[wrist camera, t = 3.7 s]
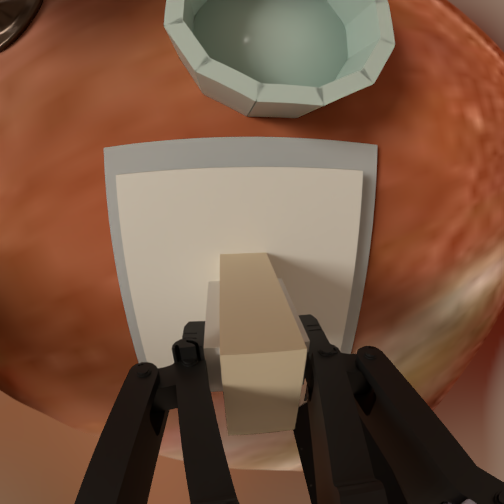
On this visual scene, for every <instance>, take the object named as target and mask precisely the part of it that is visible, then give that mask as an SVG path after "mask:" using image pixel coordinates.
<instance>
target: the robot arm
mask: <svg viewBox="0 0 504 504" xmlns="http://www.w3.org/2000/svg"><path fill="white" fill-rule="evenodd" d="M278 281H279V283H280V286H281V288H282V290H283V293H284V295H285V297H286V300H287V302H288V304H289V307H290V309H291V311H292V314H293V316H294V319H295V321H296V323H297V326H298V328H299V330H300V333H301V335H302V338H303V340H304V342H305V345H306V347H307V354H306V362H305V369H304V376H303V382H302V385H303V384H304V379H305V378H306V381H307V388H306V394H305V399H304V401H307V403H308V411H309V420H310V429H311V439H312V448H313V459H314V469H315V480H316V492H317V504H388V501H387V496H386V492H385V488H384V485H383V483H382V482H381V481H380V480H377V479H376V478H375V476H374V473H373V469H372V464H371V460H370V456H369V452H368V448H367V444H366V440H365V436H364V432H363V429H362V425H361V421H360V418H361V419H362V421H363V422H364V424H365V426H366V427H367V429H368V431H369V432H370V434H371V436H372V437H373V439H374V440H375V442H376V444H377V445H378V447H379V449H380V450H381V452H382V454H383V455H384V457H385V459H386V460H387V462H388V464H389V465H390V467H391V468H392V470H393V472H394V473H395V475H396V477H397V478H398V480H399V482H400V483H401V485H402V487H403V488H404V490H405V492H406V493H407V495H408V497H409V498H410V500H411V502H412V503H413V504H504V482H502V481H501V480H499V479H497V478H495V477H494V476H492V475H490V474H489V473H487V472H485V471H484V470H482V469H480V468H479V467H477V466H476V465H475V463H474V462H473V461H472V459H471V458H470V457H469V456H468V454H467V453H466V452H465V451H464V449H463V448H462V447H461V446H460V444H459V443H458V442H457V440H456V439H455V438H454V437H453V436H452V434H451V433H450V432H449V430H448V429H447V428H446V427H445V425H444V424H443V423H442V422H441V421H440V420H439V418H438V417H437V416H436V414H435V413H434V412H433V411H432V410H431V408H430V407H429V406H428V405H427V404H426V402H425V401H424V400H423V399H422V398H421V396H420V395H419V394H418V393H417V392H416V390H415V389H414V388H413V387H412V386H411V385H410V383H409V382H408V381H407V380H406V379H405V378H404V376H403V375H402V374H401V373H400V372H399V371H398V369H397V368H396V367H395V366H394V365H393V364H392V362H391V361H390V360H389V359H388V358H387V357H386V355H385V354H384V353H383V352H382V351H381V350H380V349H378V348H376V347H372V346H364V347H362V348H360V349H359V350H358V351H357V354H347V353H342V352H340V350H339V348H338V347H336V346H335V345H332V344H330V343H329V341H328V339H327V337H326V335H325V333H324V331H323V330H322V328H321V326H320V324H319V322H318V320H317V319H316V318H315V317H314V316H312V315H311V314H307V315H298V313H297V311H296V309H295V307H294V305H293V302H292V300H291V298H290V296H289V294H288V291H287V289H286V287H285V285H284V283H283V280H282V278H279V279H278ZM219 303H220V281H209V283H208V294H207V306H206V319H205V321H189V322H188V323H187V324H186V325H185V326H184V330H183V336H182V339H180V340H178V341H176V342H175V343H174V344H173V345H172V353H173V358H174V363H173V364H172V365H170V366H167V367H163V368H157V366H156V365H154V364H153V363H149V362H141V363H138V364H136V365H134V366H133V367H132V368H131V369H130V371H129V373H128V375H127V377H126V379H125V381H124V383H123V386H122V388H121V390H120V392H119V394H118V397H117V399H116V401H115V403H114V406H113V408H112V410H111V412H110V415H109V417H108V419H107V422H106V424H105V426H104V429H103V431H102V433H101V436H100V438H99V441H98V443H97V446H96V448H95V451H94V453H93V456H92V458H91V461H90V463H89V466H88V469H87V471H86V474H85V477H84V479H83V482H82V484H81V487H80V490H79V493H78V495H77V498H76V501H75V504H147V501H148V497H149V492H150V487H151V483H152V479H153V475H154V470H155V466H156V462H157V458H158V453H159V449H160V445H161V441H162V437H163V433H164V429H165V425H166V421H167V417H168V413H169V410H170V409H175V408H178V415H179V425H180V434H181V443H182V451H183V458H184V465H185V472H186V479H187V485H188V490H189V496H190V502H191V504H239V502H238V500H237V497H236V493H235V489H234V486H233V483H232V479H231V475H230V471H229V468H228V464H227V460H226V456H225V452H224V448H223V444H222V440H221V436H220V432H219V428H218V424H217V419H216V415H215V410H214V406H213V401H212V397H211V392H215V391H223V384H222V374H221V364H220V323H219ZM359 416H360V417H359Z"/></svg>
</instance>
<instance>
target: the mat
mask: <svg viewBox="0 0 504 504" xmlns="http://www.w3.org/2000/svg"><path fill="white" fill-rule="evenodd" d="M104 166H105V182H106V194H107V205H108V215H109V223H110V231H111V238H112V245H113V252H114V258H115V264H116V270H117V275H118V280H119V285H120V290H121V295H122V300H123V304H124V309H125V313H126V317H127V322H128V326H129V330H130V333H131V337H132V341H133V345H134V348H135V352H136V355H137V359H138V362H139V363H141V362H147V360H146V356H145V353H144V349H143V345H142V341H141V337H140V333H139V329H138V325H137V320H136V316H135V311H134V307H133V302H132V297H131V292H130V287H129V281H128V276H127V270H126V264H125V257H124V251H123V244H122V236H121V228H120V220H119V210H118V200H117V188H116V175H119V174H127V173H136V172H147V171H159V170H173V169H189V168H210V167H251V166H274V167H315V168H336V169H352V170H361V171H363V183H362V199H361V213H360V224H359V235H358V244H357V253H356V261H355V269H354V276H353V283H352V290H351V296H350V302H349V308H348V314H347V320H346V325H345V330H344V335H343V341H342V345H341V350H340V352H342V353H347V354H351V350H352V346H353V342H354V337H355V333H356V328H357V323H358V318H359V313H360V308H361V303H362V297H363V291H364V285H365V279H366V273H367V266H368V259H369V252H370V244H371V235H372V226H373V216H374V205H375V191H376V174H377V145H373V144H364V143H355V142H346V141H335V140H322V139H307V138H285V137H216V138H194V139H179V140H166V141H155V142H145V143H137V144H128V145H121V146H114V147H107V148H104Z"/></svg>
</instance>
